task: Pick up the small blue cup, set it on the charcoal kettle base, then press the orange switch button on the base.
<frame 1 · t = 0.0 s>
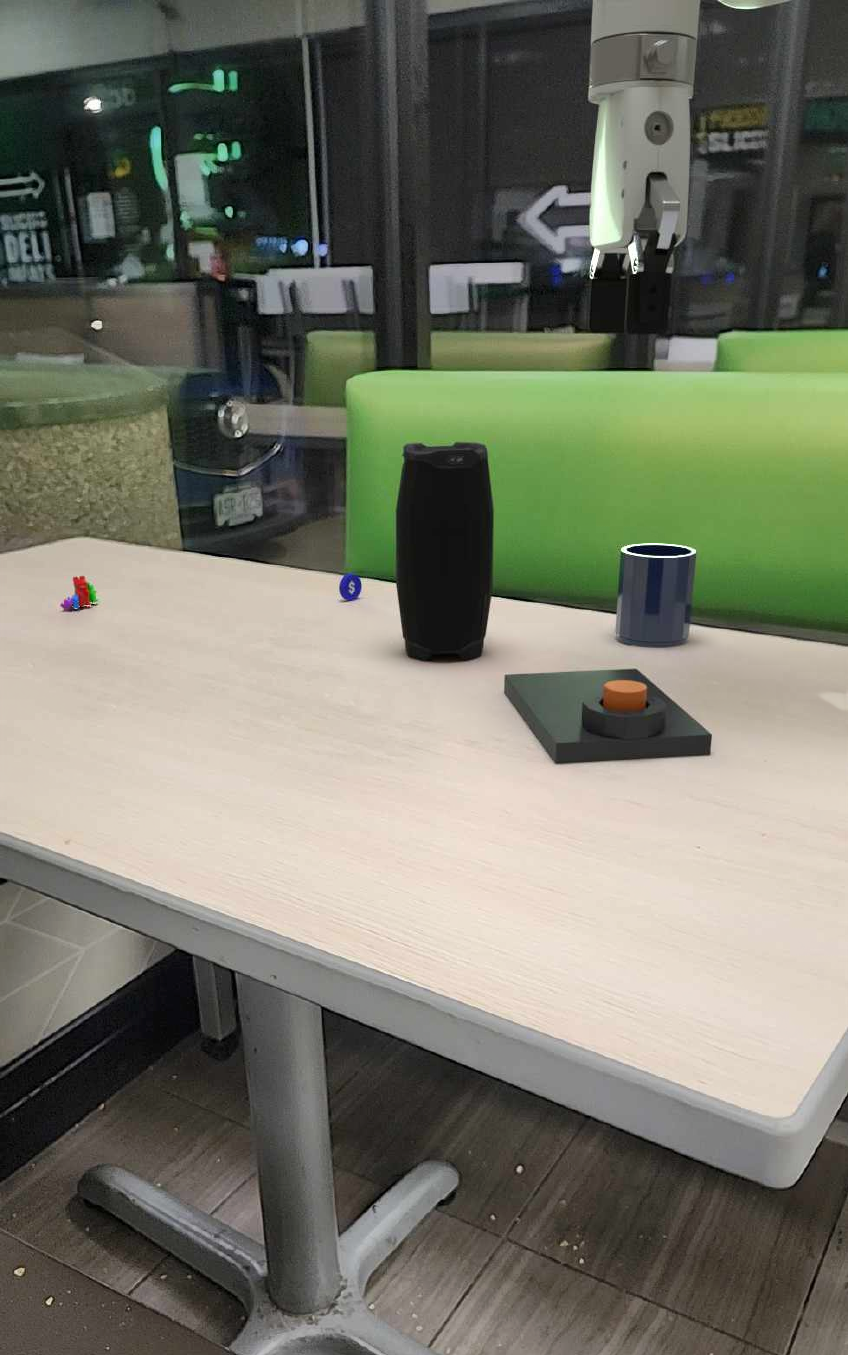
hand: (625, 333, 90), 29 cm above the table, tool pointing down, fingers open, 9 cm apart
portable speaker: (444, 654, 113), on the table
coin: (350, 601, 135), on the table
switch: (624, 697, 87), point 4 cm above the table, slide at 0.1 cm
colorful small pieces: (81, 609, 132), on the table
kettle base: (599, 722, 94), on the table
blue cup: (651, 638, 118), on the table
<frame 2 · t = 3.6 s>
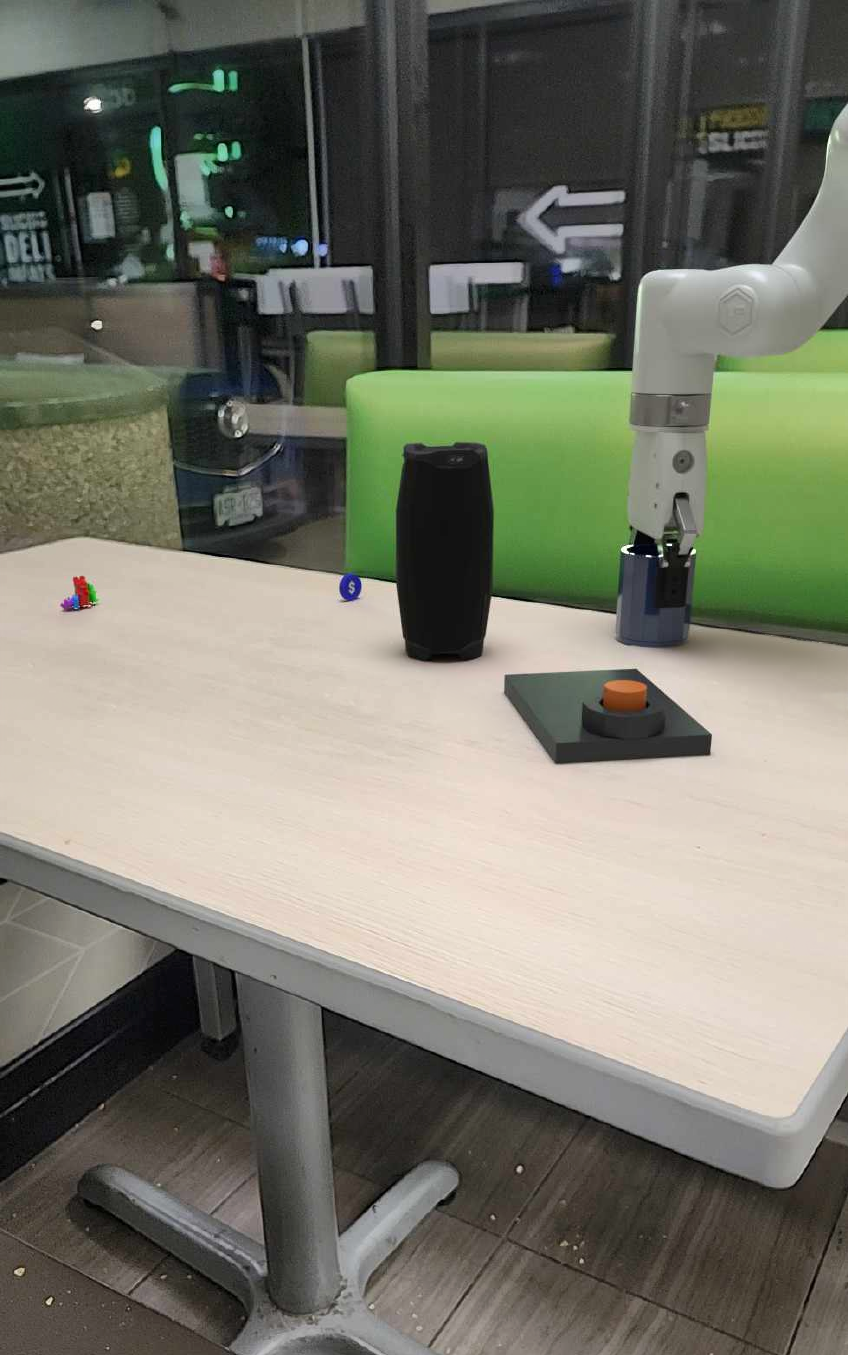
hand: (654, 597, 116), 4 cm above the table, tool pointing down, fingers closed on blue cup, 7 cm apart
blue cup: (651, 638, 118), on the table, touching gripper
everything else where it was.
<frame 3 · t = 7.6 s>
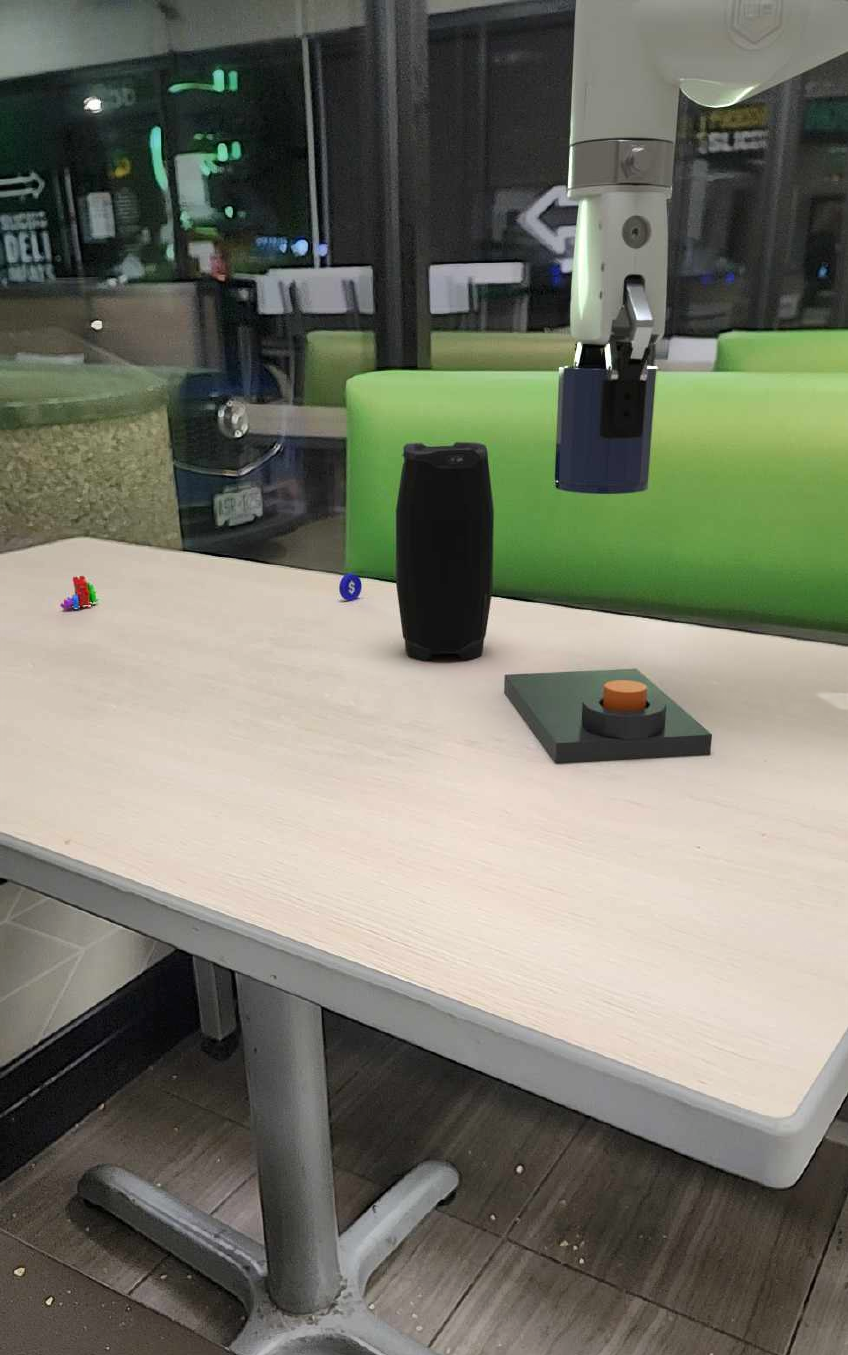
hand: (605, 431, 90), 22 cm above the table, tool pointing down, fingers closed on blue cup, 7 cm apart
blue cup: (601, 487, 92), point 18 cm above the table, touching gripper
everything else where it was.
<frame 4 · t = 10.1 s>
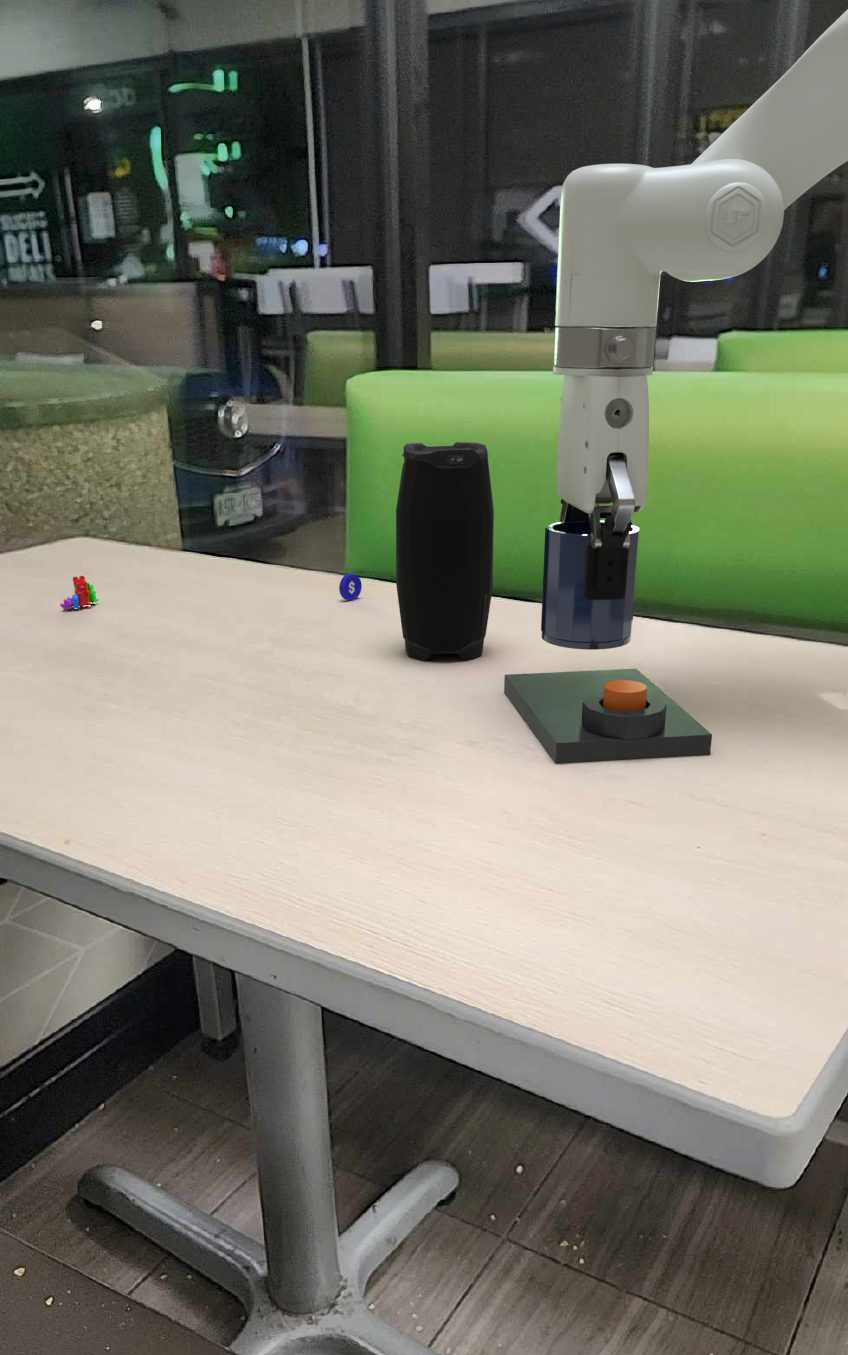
hand: (589, 586, 94), 10 cm above the table, tool pointing down, fingers closed on blue cup, 7 cm apart
blue cup: (585, 638, 95), point 6 cm above the table, touching gripper
everything else where it was.
when the fingers open (6 cm above the table, at t = 12.0 s): blue cup stays where it is, resting on kettle base.
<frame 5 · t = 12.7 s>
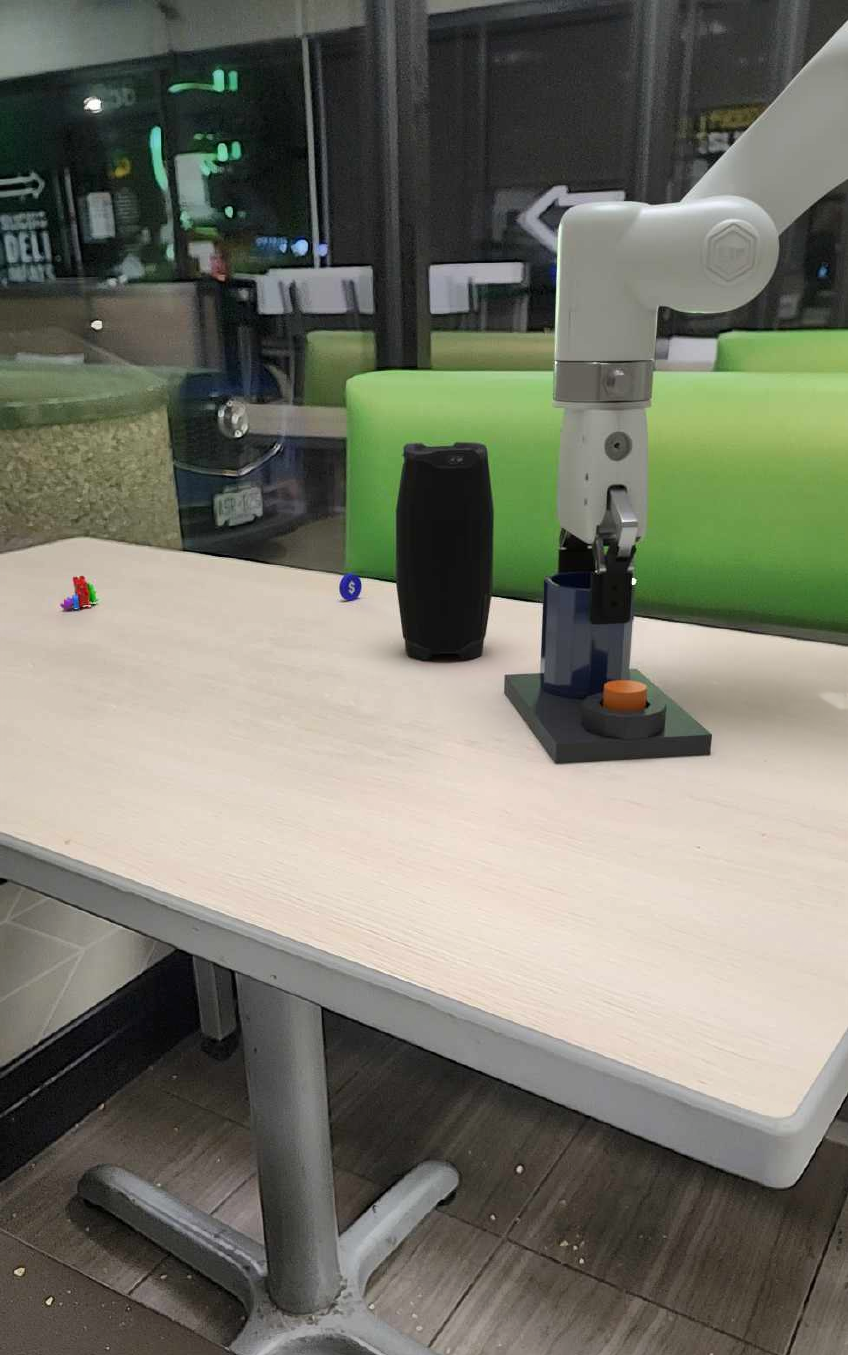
hand: (591, 608, 94), 8 cm above the table, tool pointing down, fingers open, 9 cm apart
blue cup: (584, 686, 97), point 2 cm above the table, touching kettle base
everything else where it was.
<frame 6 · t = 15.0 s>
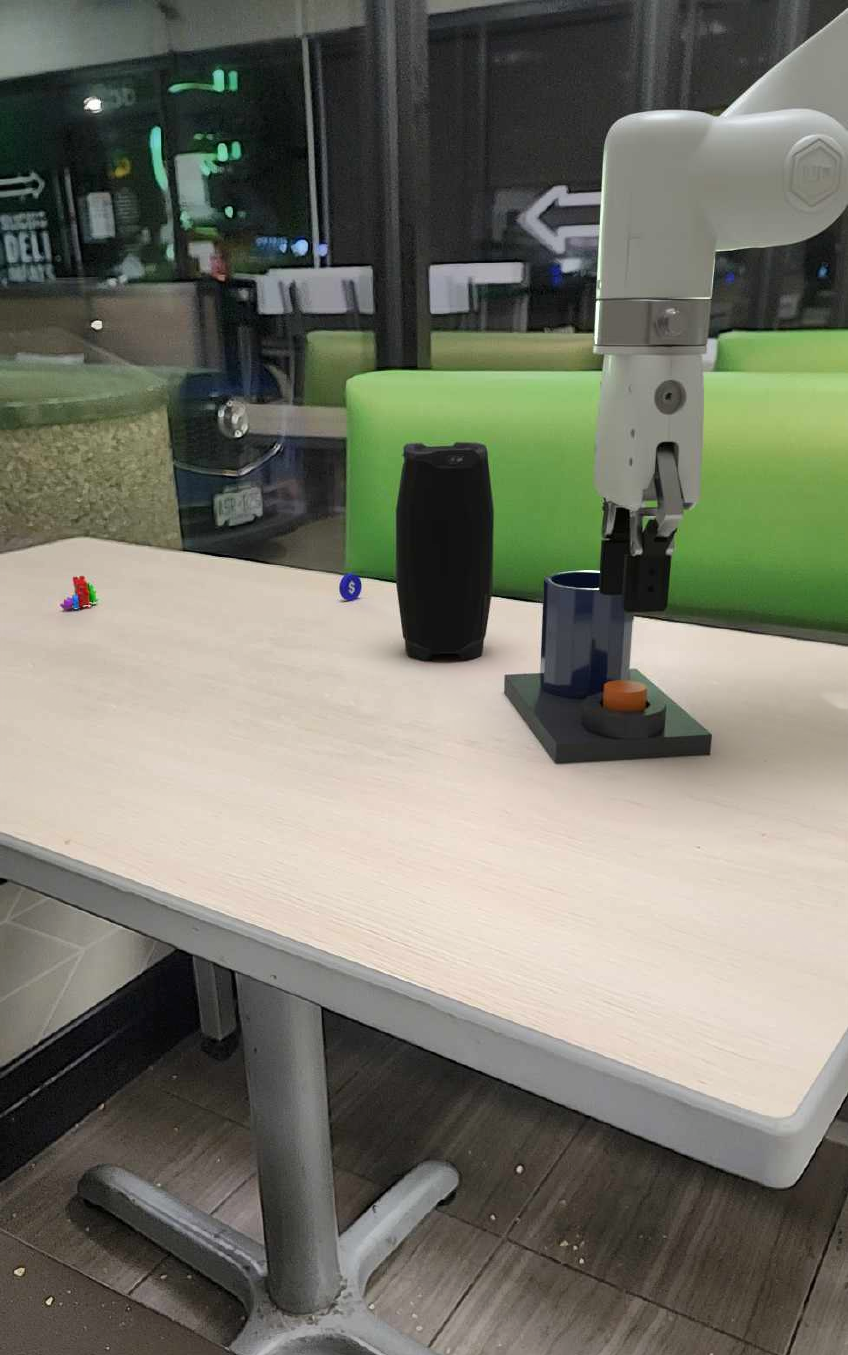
hand: (631, 599, 84), 11 cm above the table, tool pointing down, fingers open, 4 cm apart
nothing on the table moved.
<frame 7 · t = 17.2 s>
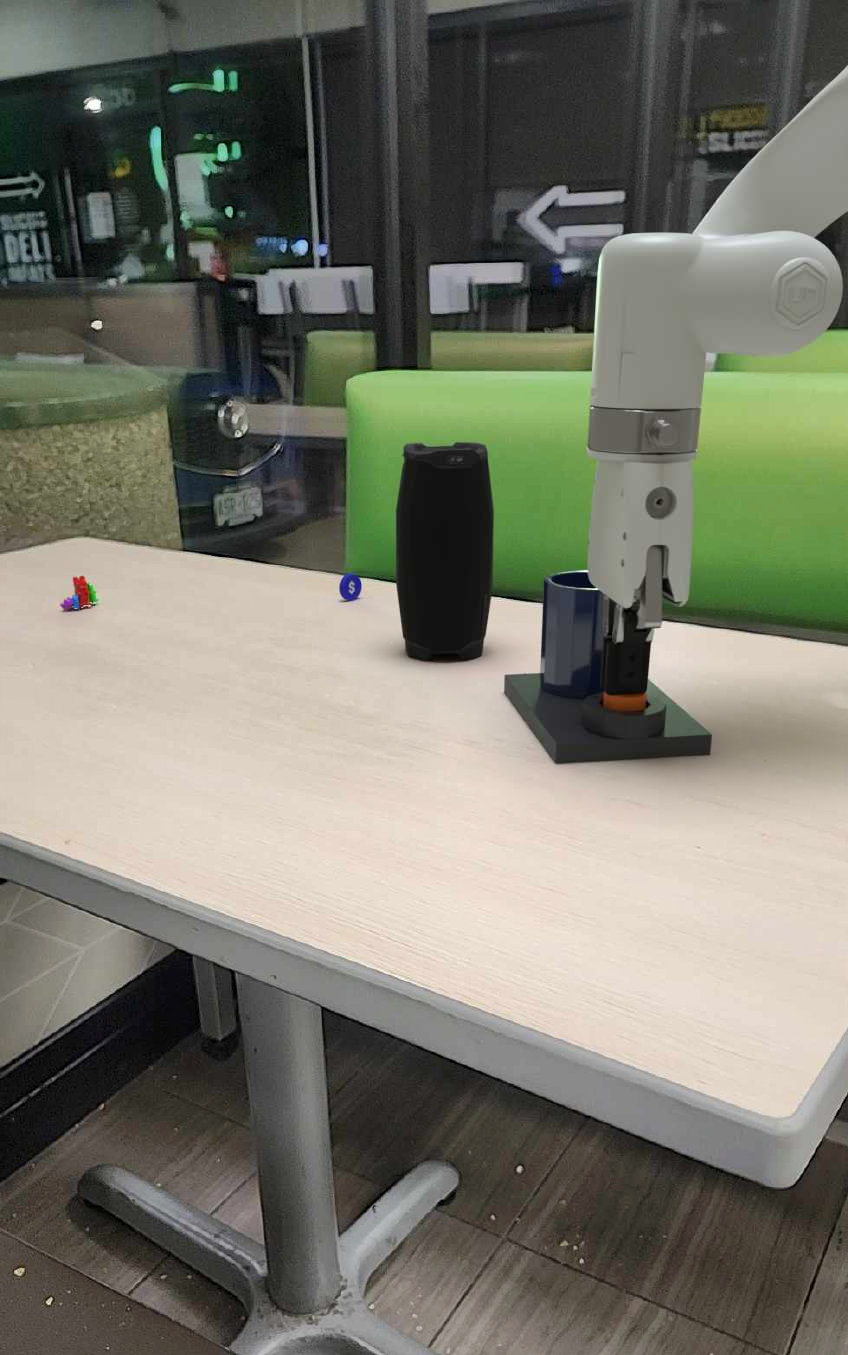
hand: (623, 690, 86), 4 cm above the table, tool pointing down, fingers closed
switch: (624, 702, 87), point 4 cm above the table, slide at -0.3 cm, touching gripper
everything else where it was.
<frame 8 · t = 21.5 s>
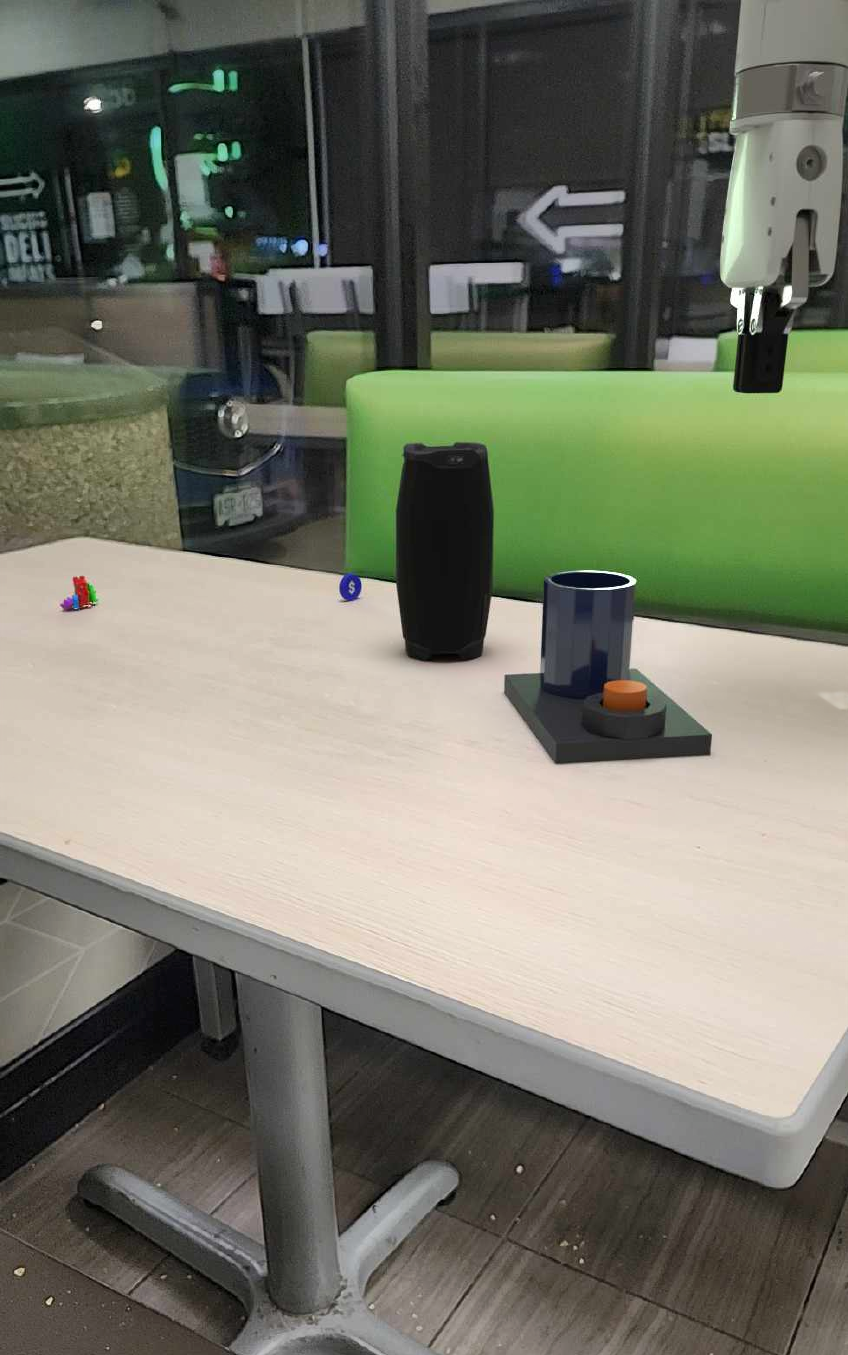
hand: (756, 392, 86), 25 cm above the table, tool pointing down, fingers closed
switch: (624, 697, 87), point 4 cm above the table, slide at 0.1 cm
everything else where it was.
at the end: blue cup 0.1 cm from the target spot on the kettle base, point 1.7 cm above the kettle base's base; blue cup tilted 0°; switch pushed in 1.1 cm at the most during the clip, back to where it started at the end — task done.
